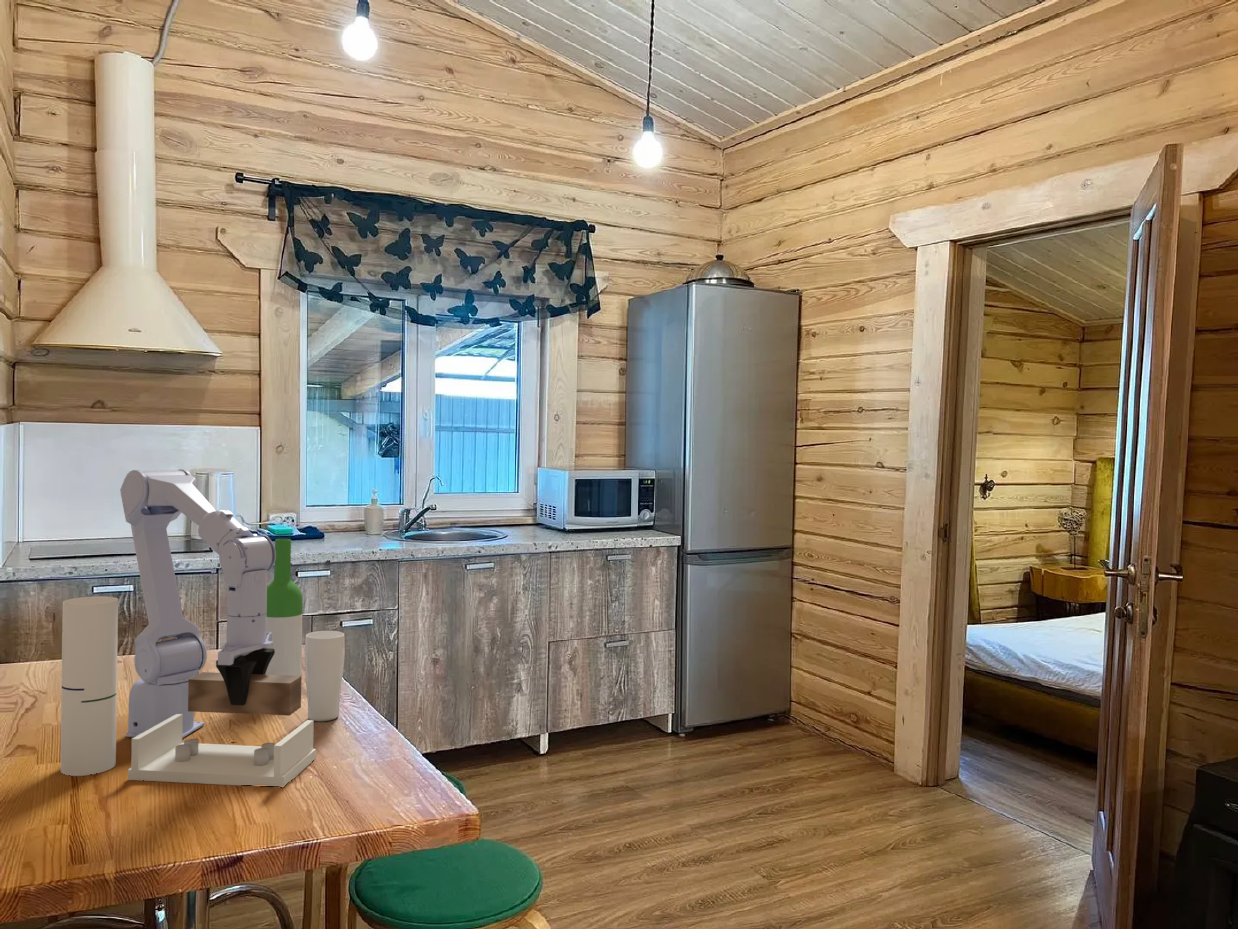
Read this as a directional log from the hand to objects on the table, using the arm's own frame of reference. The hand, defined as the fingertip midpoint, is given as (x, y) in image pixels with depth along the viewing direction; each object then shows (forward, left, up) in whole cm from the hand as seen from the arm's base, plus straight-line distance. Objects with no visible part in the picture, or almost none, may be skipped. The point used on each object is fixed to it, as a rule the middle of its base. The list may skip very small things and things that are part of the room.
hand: (245, 700), depth 143 cm
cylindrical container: (-20, -8, -9) cm, 23 cm away
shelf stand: (0, -6, -9) cm, 11 cm away
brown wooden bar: (0, 0, -2) cm, 2 cm away
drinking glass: (+5, +20, -9) cm, 22 cm away
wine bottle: (-9, +34, -9) cm, 36 cm away
